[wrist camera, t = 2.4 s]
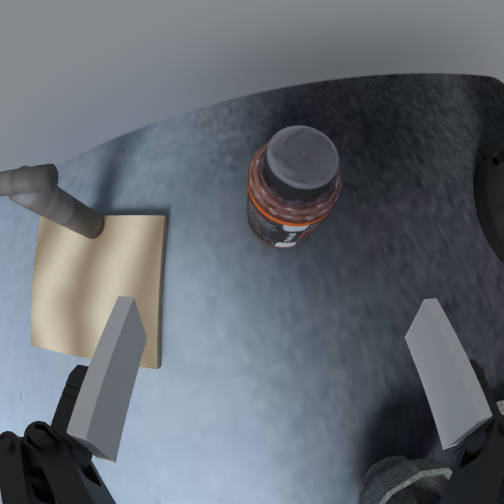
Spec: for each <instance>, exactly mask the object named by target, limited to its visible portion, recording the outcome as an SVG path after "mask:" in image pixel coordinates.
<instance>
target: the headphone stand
mask: <svg viewBox="0 0 504 504" xmlns="http://www.w3.org/2000/svg"><path fill="white" fill-rule="evenodd" d="M57 184H58V171H57V168H56V166H55V165H53V164H45V165H39V166H33V167H29V166H22V167H21V168H19V169H14V170H8V171H3V172H0V196H9V199H10V200H11V201H13V202H15V203H17V204H19V205H21V206H23V207H25V208H27V209H29V210H31V211H33V212H35V213H37V214H39V215H41V216H43V217H41V219H40V225H39V231H38V238H37V245H36V253H35V262H34V273H33V285H32V304H31V345H32V346H36V347H40V348H44V349H48V350H52V351H56V352H60V353H65V354H69V355H74V356H79V357H84V358H89V359H92V357H93V355H94V352H95V350H96V347H97V345H98V342H99V340H100V337H101V335H102V333H103V330H104V328H105V325H106V323H107V321H108V319H109V316H110V314H111V312H112V309H113V307H114V305H115V303H116V301H117V298H118V296H125V297H134V298H135V302H136V305H137V308H138V311H139V314H140V318H141V321H142V324H143V327H144V330H145V333H146V336H147V340H146V344H145V347H144V351H143V354H142V358H141V361H140V365H139V367H145V368H153V369H158V368H160V367H161V311H162V289H163V272H164V257H165V244H166V233H167V222H168V218H167V217H166V216H165V215H106V216H101V215H100V214H98V213H96V212H95V211H93V210H92V209H90V208H89V207H87V206H86V205H84V204H83V203H81V202H80V201H78V200H77V199H75V198H74V197H72V196H71V195H69V194H68V193H67V192H65V191H64V190H62V189H61V188H59V187H58V186H57Z"/></svg>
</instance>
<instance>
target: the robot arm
mask: <svg viewBox="0 0 504 504" xmlns="http://www.w3.org/2000/svg"><path fill="white" fill-rule="evenodd" d="M475 198H476V205H477V210H478V214H479V218H480V221H481V225H482V227H483V230H484V233H485V235H486V237H487V239H488V241H489V243H490V245H491V247H492V249H493V250H494V252H495V253H496V255H497V256H498V257H499V259H500V260H501V261H502V262H503V263H504V149H500V150H497V151H495V152H493V153H492V154H491V155H489V156H488V157H486V158H485V159H484V160H483V161H482V162H481V163H480V165H479V167H478V170H477V173H476V178H475ZM405 339H406V342H407V344H408V347H409V349H410V352H411V354H412V357H413V360H414V362H415V365H416V368H417V370H418V373H419V376H420V378H421V381H422V384H423V387H424V390H425V393H426V396H427V398H428V401H429V404H430V408H431V411H432V414H433V417H434V420H435V423H436V427H437V430H438V433H439V437H440V440H441V444H442V447H443V450H444V449H447V448H450V447H453V446H455V445H457V444H459V443H460V442H461V441H463V440H464V441H465V444H464V445H462V446H461V447H460V448H458V449H457V450H456V451H455V452H454V453H453V455H456V454H457V453H459V452H460V454H459V455H458V456H457V457H458V459H457V462H456V464H455V467H454V469H453V472H452V474H451V477H450V479H449V481H448V484H447V486H446V488H445V490H444V492H443V494H442V497H441V499H440V501H439V503H438V504H504V415H502V414H501V412H500V410H499V408H498V405H497V403H496V400H495V398H494V396H493V393H492V391H491V389H490V386H488V382H487V379H485V375H484V373H483V371H482V369H481V367H480V366H479V365H478V363H477V362H476V361H475V360H474V359H473V360H469V359H468V357H467V355H466V353H465V351H464V349H463V347H462V345H461V343H460V341H459V339H458V337H457V335H456V333H455V331H454V329H453V328H452V326H451V324H450V322H449V320H448V318H447V316H446V315H445V313H444V311H443V309H442V307H441V306H440V304H439V302H438V300H437V299H436V298H435V299H424V300H423V303H422V305H421V307H420V309H419V311H418V313H417V315H416V317H415V319H414V321H413V323H412V325H411V327H410V329H409V331H408V332H407V334H406V336H405ZM146 340H147V336H146V333H145V330H144V327H143V324H142V321H141V318H140V314H139V311H138V308H137V305H136V302H135V298H134V297H125V296H118V298H117V301H116V303H115V305H114V307H113V309H112V312H111V314H110V316H109V319H108V321H107V323H106V325H105V328H104V330H103V333H102V335H101V337H100V340H99V342H98V345H97V347H96V350H95V352H94V355H93V357H92V360H91V362H90V365H89V367H88V366H83V365H77V366H76V367H75V368H74V370H73V371H72V372H71V373H70V374H69V377H68V379H67V382H66V387H64V390H63V392H62V396H61V398H60V401H59V403H58V406H57V409H56V412H55V415H54V418H53V420H52V423H51V426H49V425H48V424H47V423H45V422H42V421H36V422H33V423H31V424H30V425H28V427H27V428H26V430H25V433H24V437H18V436H17V435H16V434H14V433H13V432H10V431H6V432H3V433H2V434H0V491H1V497H2V502H3V504H116V502H115V501H114V499H113V498H112V496H111V494H110V493H109V491H108V489H107V487H106V486H105V484H104V482H103V480H102V479H101V477H100V475H99V473H98V471H97V469H96V468H95V466H94V464H93V462H92V461H91V459H92V455H94V456H96V457H97V458H98V459H102V460H105V461H109V462H113V463H116V458H117V454H118V449H119V444H120V440H121V435H122V431H123V427H124V422H125V418H126V414H127V410H128V406H129V402H130V398H131V394H132V390H133V387H134V383H135V379H136V375H137V372H138V368H139V365H140V361H141V358H142V354H143V351H144V347H145V344H146Z"/></svg>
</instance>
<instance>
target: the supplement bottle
mask: <svg viewBox="0 0 504 504" xmlns="http://www.w3.org/2000/svg"><path fill="white" fill-rule="evenodd" d="M341 186H342V176H341V172H340V168H339V156H338V152H337V149H336V147H335V145H334V144H333V142H332V141H331V140H330V138H329V137H327V136H326V135H325V134H323V133H322V132H320V131H318V130H317V129H315V128H311V127H308V126H298V125H296V126H289V127H286V128H284V129H282V130H280V131H278V132H277V133H276V134H275V135H274V136H273V137H272V138H271V140H270V141H269V142H267V143H265V144H264V145H263V146H262V147H261V148H259V150H258V151H257V152H256V153H255V155H254V156H253V158H252V160H251V163H250V166H249V170H248V222H249V225H250V227H251V229H252V231H253V233H254V234H255V235H256V237H257V238H259V239H260V240H261V241H262V242H263V243H265V244H267V245H269V246H272V247H277V248H289V247H293V246H296V245H298V244H300V243H301V242H303V241H304V240H306V239H307V238H308V237H309V236H310V235H311V234H312V233H313V232H314V230H315V229H316V228H317V227H318V225H319V224H320V223H321V222H322V220H323V219H324V218H325V217H326V216H327V215H328V213H329V212H330V211H331V210H332V208H333V207H334V205H335V204H336V203H337V201H338V198H339V196H340V192H341Z"/></svg>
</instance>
